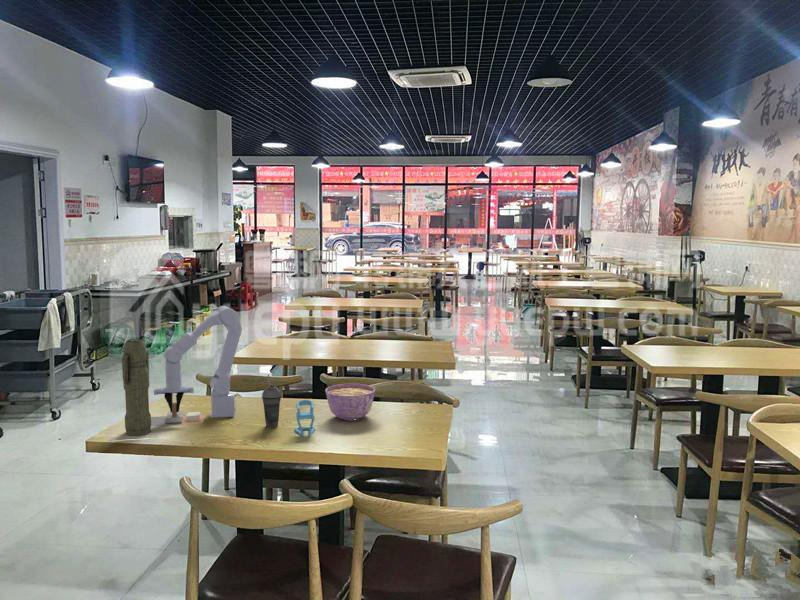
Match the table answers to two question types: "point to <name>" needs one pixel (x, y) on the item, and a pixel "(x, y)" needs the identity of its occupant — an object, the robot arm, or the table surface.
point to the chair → (305, 417)
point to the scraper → (174, 415)
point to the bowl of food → (350, 400)
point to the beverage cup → (271, 405)
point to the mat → (161, 421)
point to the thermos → (136, 388)
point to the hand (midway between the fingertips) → (174, 411)
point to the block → (193, 416)
